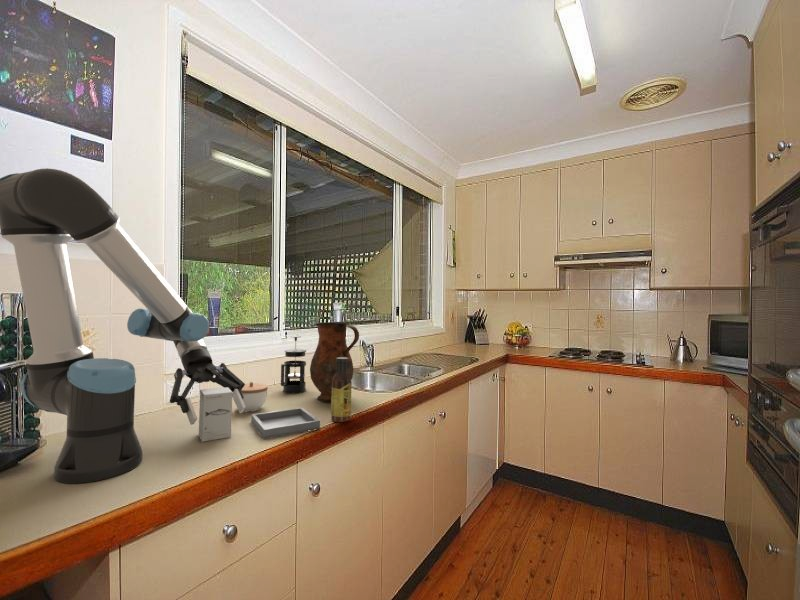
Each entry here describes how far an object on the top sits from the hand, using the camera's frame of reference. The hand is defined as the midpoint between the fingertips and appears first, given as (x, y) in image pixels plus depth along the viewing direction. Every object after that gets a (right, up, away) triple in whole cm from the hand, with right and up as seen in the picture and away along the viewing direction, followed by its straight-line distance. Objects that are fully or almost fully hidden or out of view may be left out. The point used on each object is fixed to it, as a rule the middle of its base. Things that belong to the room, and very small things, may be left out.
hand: (219, 415), depth 103 cm
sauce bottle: (+30, -7, +17) cm, 36 cm away
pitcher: (+24, -7, +41) cm, 48 cm away
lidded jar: (-2, -6, +27) cm, 28 cm away
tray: (+15, -6, +11) cm, 19 cm away
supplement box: (-2, -6, +1) cm, 6 cm away
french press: (+5, -7, +54) cm, 55 cm away
